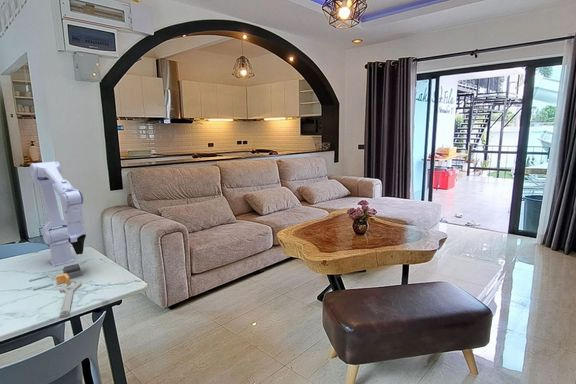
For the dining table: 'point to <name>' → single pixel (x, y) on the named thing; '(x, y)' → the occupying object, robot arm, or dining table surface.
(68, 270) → the plug block
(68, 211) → the robot arm
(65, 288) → the adjustable wrench
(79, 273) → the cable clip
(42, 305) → the dining table surface
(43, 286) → the rails
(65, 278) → the orange l-shaped block
